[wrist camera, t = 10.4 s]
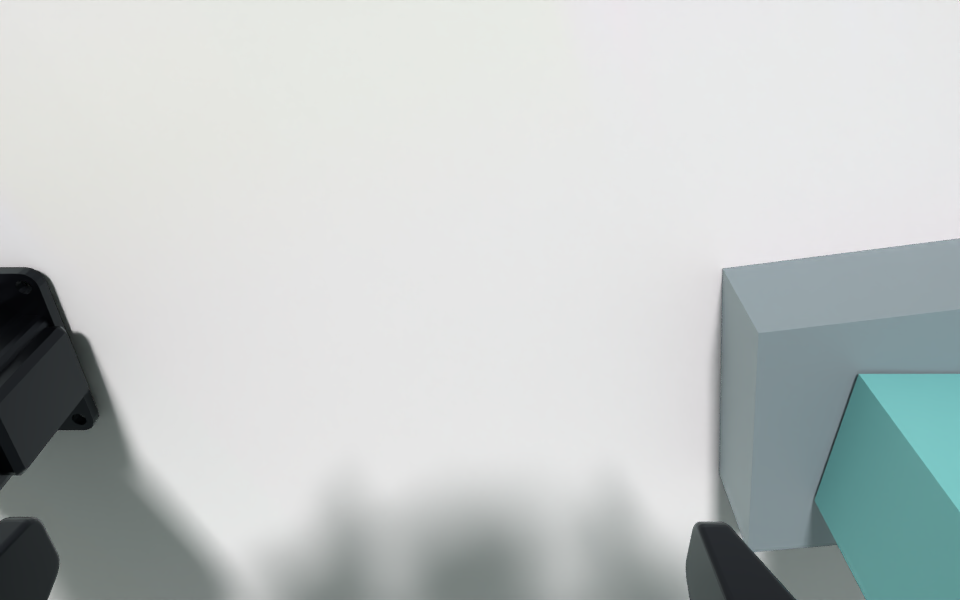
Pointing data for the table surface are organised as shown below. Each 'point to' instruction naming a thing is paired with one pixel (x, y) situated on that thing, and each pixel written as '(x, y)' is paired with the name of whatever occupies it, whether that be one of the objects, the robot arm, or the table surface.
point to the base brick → (819, 369)
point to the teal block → (898, 486)
